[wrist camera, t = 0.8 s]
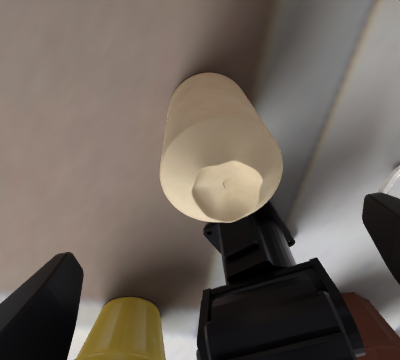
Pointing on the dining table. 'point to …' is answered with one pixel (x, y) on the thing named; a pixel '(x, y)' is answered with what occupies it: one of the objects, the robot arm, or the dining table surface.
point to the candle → (217, 152)
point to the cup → (390, 180)
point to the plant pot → (125, 332)
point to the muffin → (373, 330)
